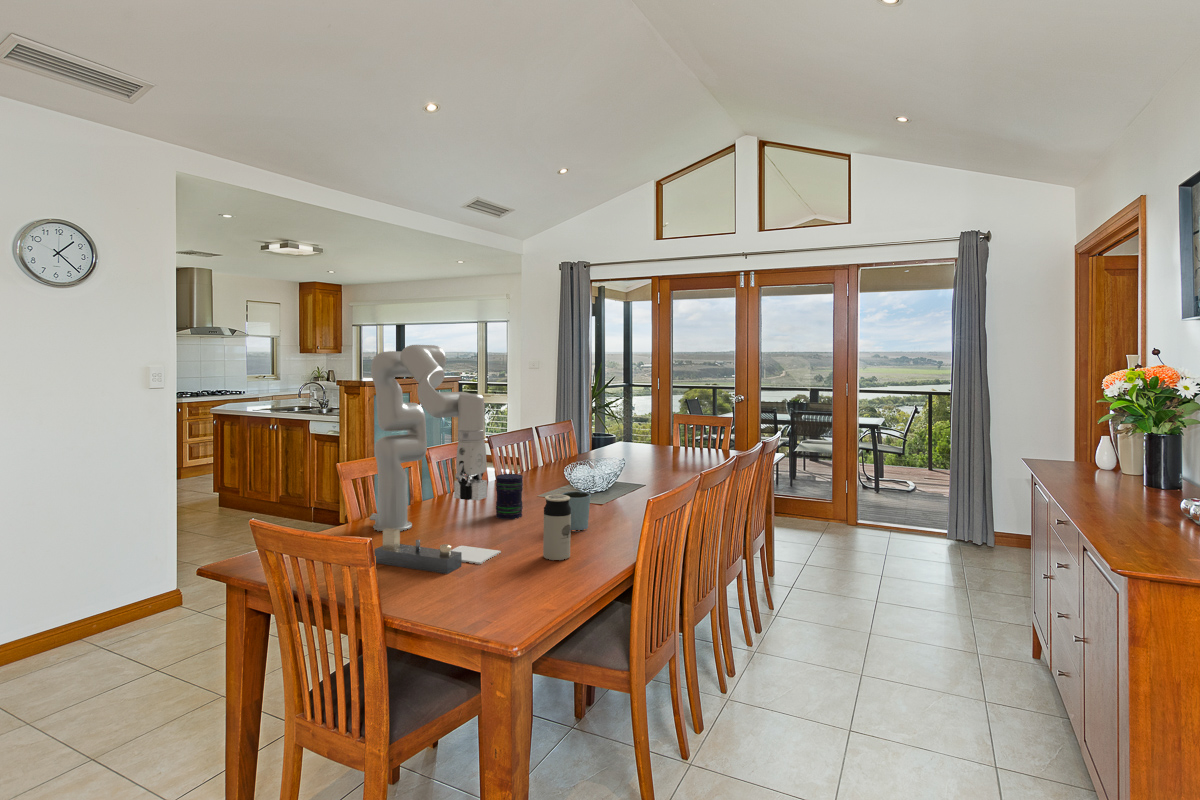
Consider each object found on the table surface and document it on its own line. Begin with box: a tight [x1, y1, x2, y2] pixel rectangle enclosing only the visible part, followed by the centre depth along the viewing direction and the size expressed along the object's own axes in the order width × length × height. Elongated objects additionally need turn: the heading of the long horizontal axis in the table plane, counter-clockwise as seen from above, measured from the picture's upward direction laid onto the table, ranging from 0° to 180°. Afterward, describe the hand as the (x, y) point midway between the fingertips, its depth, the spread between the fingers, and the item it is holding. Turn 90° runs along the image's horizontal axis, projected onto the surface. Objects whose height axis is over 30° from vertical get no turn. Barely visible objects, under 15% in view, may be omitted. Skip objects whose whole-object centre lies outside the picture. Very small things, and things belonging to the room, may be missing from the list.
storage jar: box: [495, 473, 524, 520], centre depth 238 cm, size 10×10×15 cm
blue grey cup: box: [560, 490, 592, 530], centre depth 222 cm, size 10×10×12 cm
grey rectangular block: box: [453, 477, 488, 501], centre depth 189 cm, size 8×5×5 cm, turn 70°
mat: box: [451, 545, 502, 565], centre depth 190 cm, size 14×12×1 cm
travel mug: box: [542, 494, 572, 561], centre depth 190 cm, size 8×8×18 cm
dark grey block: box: [374, 528, 463, 575], centre depth 181 cm, size 24×7×9 cm, turn 70°
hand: (470, 496), depth 189 cm, fingers closed on grey rectangular block, 5 cm apart
